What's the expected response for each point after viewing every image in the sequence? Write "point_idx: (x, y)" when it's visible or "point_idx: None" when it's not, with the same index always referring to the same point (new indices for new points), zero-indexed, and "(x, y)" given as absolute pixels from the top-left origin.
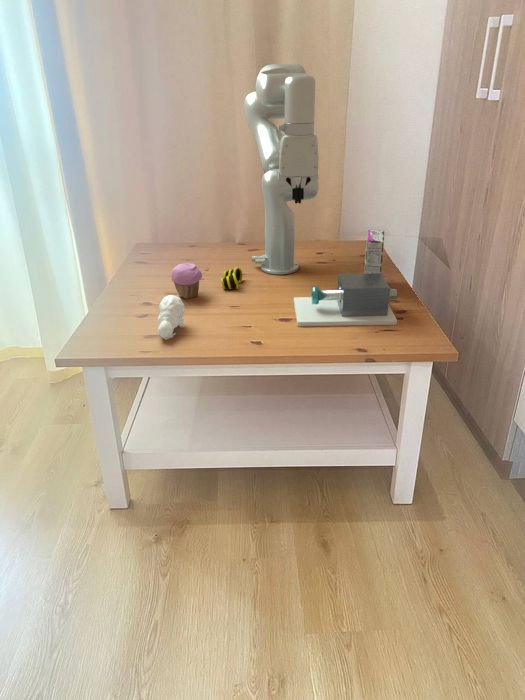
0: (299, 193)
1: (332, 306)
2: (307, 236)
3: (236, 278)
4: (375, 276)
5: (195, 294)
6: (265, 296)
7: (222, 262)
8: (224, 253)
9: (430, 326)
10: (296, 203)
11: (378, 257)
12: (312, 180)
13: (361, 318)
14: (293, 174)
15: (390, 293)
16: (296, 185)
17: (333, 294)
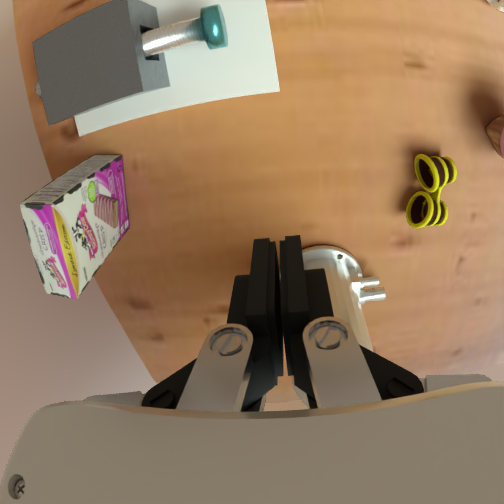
0: (266, 281)
1: (178, 52)
2: (265, 402)
3: (417, 213)
4: (58, 100)
5: (491, 123)
6: (351, 118)
7: (429, 298)
8: (417, 335)
9: (21, 48)
10: (290, 238)
11: (51, 185)
12: (131, 394)
13: None
14: (372, 436)
15: None
16: (299, 353)
17: (164, 26)
